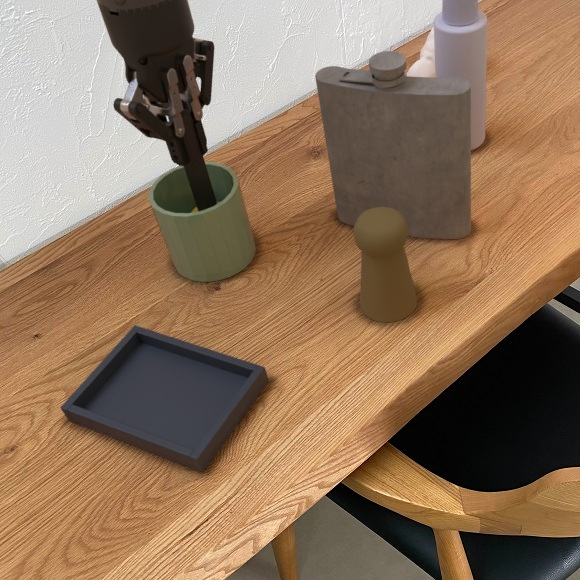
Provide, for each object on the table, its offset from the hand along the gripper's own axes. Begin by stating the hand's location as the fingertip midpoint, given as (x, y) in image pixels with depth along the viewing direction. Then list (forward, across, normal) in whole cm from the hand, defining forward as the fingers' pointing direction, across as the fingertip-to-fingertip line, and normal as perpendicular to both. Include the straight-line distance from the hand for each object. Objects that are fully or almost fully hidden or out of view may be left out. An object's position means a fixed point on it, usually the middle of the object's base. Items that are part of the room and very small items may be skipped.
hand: (191, 158), depth 82 cm
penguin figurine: (+12, -41, +10) cm, 44 cm away
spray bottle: (+12, -29, +18) cm, 36 cm away
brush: (+9, 0, 0) cm, 9 cm away
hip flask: (+12, -11, +18) cm, 24 cm away
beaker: (+12, +1, 0) cm, 12 cm away
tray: (+12, +21, +8) cm, 26 cm away
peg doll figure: (+12, +1, +22) cm, 25 cm away
